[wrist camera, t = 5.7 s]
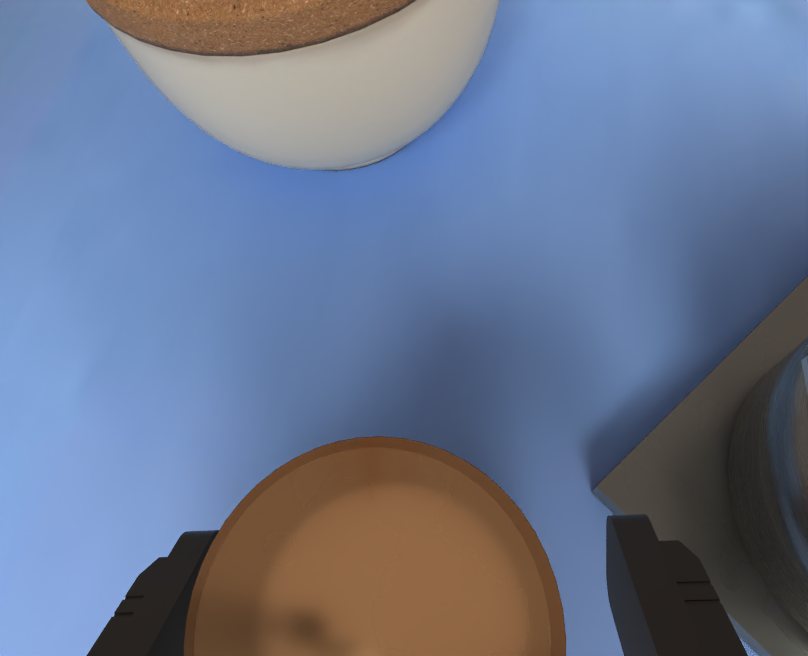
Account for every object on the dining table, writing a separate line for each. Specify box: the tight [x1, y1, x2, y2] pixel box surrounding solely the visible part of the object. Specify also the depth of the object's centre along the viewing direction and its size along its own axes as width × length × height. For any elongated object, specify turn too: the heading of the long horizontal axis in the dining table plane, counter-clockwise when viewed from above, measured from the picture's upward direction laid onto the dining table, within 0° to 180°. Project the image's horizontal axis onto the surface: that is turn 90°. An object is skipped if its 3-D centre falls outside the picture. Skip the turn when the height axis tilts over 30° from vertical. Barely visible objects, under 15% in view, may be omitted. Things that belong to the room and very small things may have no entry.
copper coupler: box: [184, 437, 566, 656], centre depth 13 cm, size 5×5×9 cm
